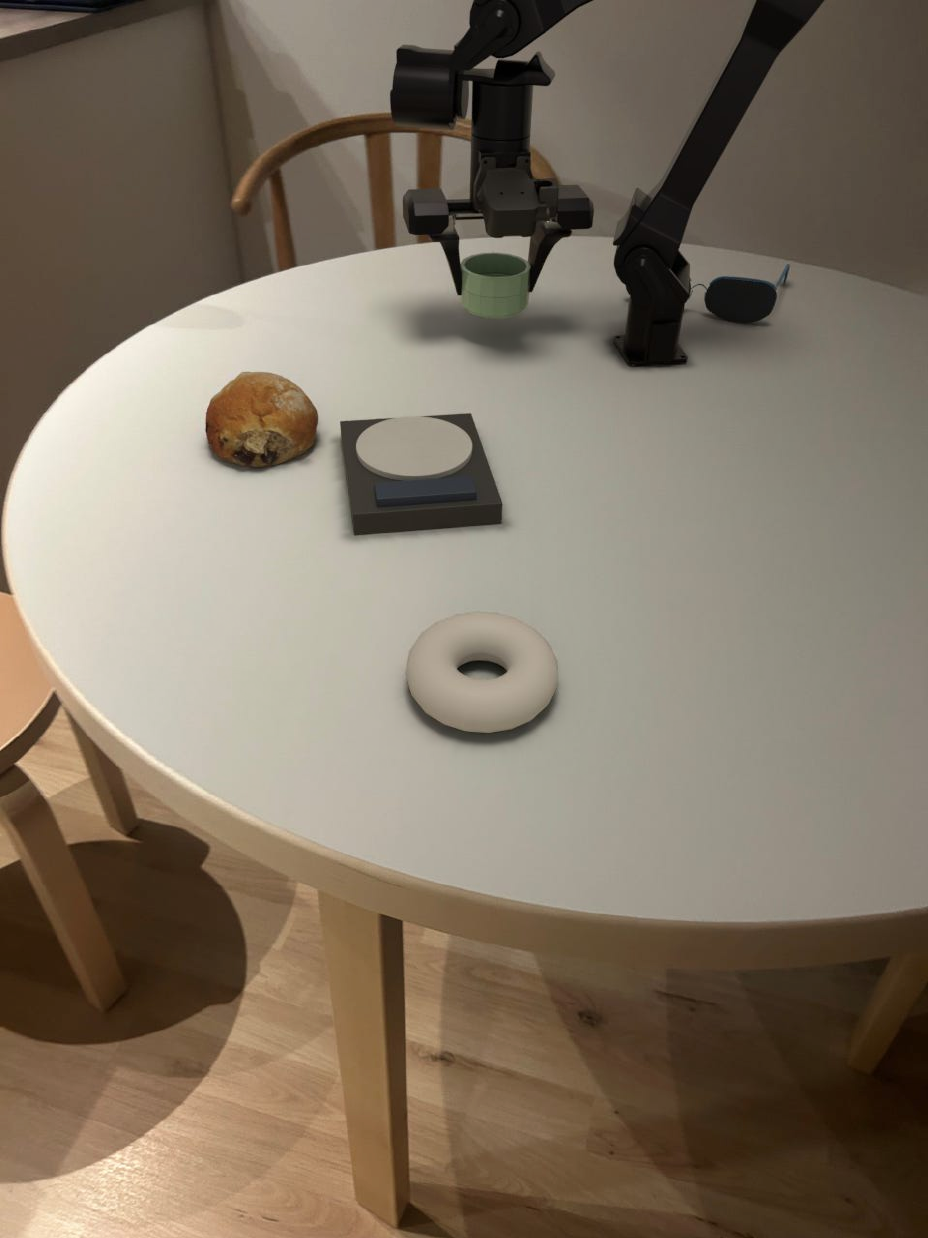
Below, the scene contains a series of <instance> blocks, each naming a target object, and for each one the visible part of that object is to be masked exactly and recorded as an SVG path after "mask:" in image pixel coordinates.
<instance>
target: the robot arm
mask: <svg viewBox="0 0 928 1238" xmlns="http://www.w3.org/2000/svg"><path fill="white" fill-rule="evenodd" d="M825 1H826V0H749V2H748V7H747V9H746V12H745V16H744V19H743V22H742V25H741V27H740V30H739V33H738V34H737V36H736V38H735V40H734V42H733V44H732V46H731V48H730V50H729V52H728V53H727V55H726V57H725V59H724V61H723V63H722V64H721V66H720V68H719V70H718V72H717V74H716V76H715V78H714V80H713V81H712V83H711V86H710V87H709V89H708V91H707V93H706V94H705V97H704V98H703V100H702V103H701V104H700V106H699V107H698V110H697V112H696V113H695V115H694V117H693V119H692V121H691V123H690V124H689V127H688V128H687V130H686V132H685V135H684V136H683V138H682V140H681V141H680V144H679V145H678V147H677V150H676V151H675V153H674V155H673V157H672V158H671V160H670V163H669V164H668V166H667V168H666V170H665V172H664V174H663V176H662V177H661V179H660V180H659V181H658V183H656V185H655V186H653V188H652V189H651V190H650V191H649V192H648V194H647V193H645V192H644V191H643V190H642V189H640V188H639V187H635V189H634V192H633V194H632V198H631V202H630V204H629V207H628V209H627V210H626V212H625V214H624V215H623V216H622V217H621V218H620V219H619V220H618V221H617V222H616V227H615V231H614V236H613V240H612V245H613V247H615V253H614V258H613V268H614V271H615V275H616V277H617V278H618V279H619V281H620V282H621V283H622V284H623V285H625V287H626V286H627V287H629V292H630V295H629V299H628V306H627V307H628V308H627V315H626V321H625V322H626V323H625V328H624V329H625V330H624V334H619V335H618V334H617V335H614V336H613V338H612V342H613V343H614V344H615V346H616V348H617V349H618V351H619V352H620V354H621V356H622V357H623V358H624V360H625V361H626V363H627V364H628V365H630V366H643V365H646V366H647V365H664V364H681V363H687V362H688V360H689V359H688V358H689V357H688V355H687V354H686V352H685V351H684V350H683V349H682V347H681V346H680V345H679V339H680V335H681V328H682V323H683V317H684V311H685V306H686V303H687V302H688V300H687V299H688V297H689V280H690V278H691V264H690V262H689V261H688V260H687V259H686V257H685V255H684V254H683V253H682V251H680V247H681V244H682V241H683V239H684V235H685V232H686V229H687V226H688V223H689V221H690V216H691V214H692V211H693V208H694V205H695V203H696V202H697V200H698V198H699V196H700V194H701V192H702V191H703V189H704V187H705V185H707V182H708V180H709V178H710V177H711V175H712V173H713V171H714V170H715V168H716V166H717V164H718V163H719V161H720V159H721V157H722V155H723V154H724V152H725V150H726V148H727V146H728V144H729V143H730V141H731V139H732V138H733V136H734V134H735V132H736V130H737V129H738V127H739V125H740V123H741V122H742V120H743V119H744V116H746V115H745V114H746V113H747V111H748V109H749V107H750V106H751V104H752V102H753V101H754V99H755V97H756V95H757V93H758V91H759V90H760V88H761V86H762V84H763V82H764V81H765V79H766V77H767V76H768V74H769V72H770V71H771V69H772V67H773V65H774V63H775V61H776V60H777V58H778V57H779V56H780V54H781V53H782V52H783V51H784V49H785V48H786V47H787V46H788V45H789V44H790V43H791V41H792V40H793V39H795V38H796V36H797V35H798V34H799V33H800V31H802V29H803V28H804V27H805V26H806V25H807V24H808V23H809V22H810V20H811V19H812V17H813V16H814V15H815V14H816V13H817V11H818V10H819V8H820V7H821V6H822V4H823V3H824V2H825ZM592 2H594V0H473V1H472V4H471V7H470V9H469V19H468V21H469V23H468V24H469V25H468V26H469V28H468V30H467V31H466V32H465V34H464V35H463V37H461V38H460V39H459V40H458V41H457V42H456V43H455V44H454V45H453V49H442V48H427V47H426V48H425V47H421V46H418V45H414V44H402V45H400V46H399V47H398V48H397V49H396V50H395V53H396V58H395V59H396V62H395V66H394V70H393V76H392V86H391V87H392V88H391V89H390V91H389V104H390V106H389V107H390V115H391V120H392V123H393V125H394V126H395V127H402V128H403V127H406V128H417V129H429V130H430V129H432V130H444V131H445V130H446V131H453V130H454V129H455V127H456V124H457V121H458V120H465V119H466V117H467V113H468V110H469V109H468V108H469V100H470V82H471V83H472V85H471V117H470V118H471V120H470V121H471V124H470V125H471V127H470V162H469V163H470V164H469V165H470V166H469V167H470V168H469V198H459V199H458V198H455V199H447V198H446V196H445V193H444V192H443V189H442V188H412V189H409V188H408V189H407V191H406V192H405V193H404V194H403V195H402V218H403V220H404V221H403V222H404V223H405V227H406V230H407V232H408V234H409V235H412V236H427V237H428V240H429V241H430V242H433V243H440V245H441V248H442V250H443V253H444V255H445V258H446V263H447V266H448V269H449V271H450V276H451V279H452V282H453V286H454V288H455V291H456V294H457V296H458V297H460V295H461V294H462V276H461V265H460V264H461V256H460V235H459V233H458V231H457V229H456V227H455V225H456V221H469V220H470V221H471V220H483V223H484V229H485V233H486V234H487V236H489V237H490V238H494V239H502V238H504V237H517V236H518V237H522V238H529V246H528V255H527V261H528V262H529V264H530V266H531V272H530V287H529V293H533V291H534V290H535V287H536V285H537V282H538V279H539V277H540V275H541V272H542V271H543V268H544V265H545V264H546V262H547V259H548V257H549V255H550V253H551V252H552V250H553V248H554V246H555V245H556V244H557V243H558V242H560V241H561V240H562V239H564V238H569V237H571V236H572V233H573V231H572V230H574V231H575V230H589V229H591V228H593V225H594V213H595V205H594V202H593V201H592V200H591V199H590V197H589V196H588V195H587V194H586V193H585V191H584V190H583V189H582V187H581V186H580V185H579V184H559V183H558V180H557V178H555V177H551V178H550V177H549V178H548V177H547V178H534V175H533V172H532V168H531V167H532V159H531V156H532V155H531V154H532V153H531V151H530V147H531V146H530V145H531V132H532V131H531V129H532V116H533V115H532V113H533V97H534V86H536V87H550V85H551V84H552V81H554V79H555V77H556V72H555V70H554V69H553V68H552V67H551V66H550V65H549V64H548V63H547V62H546V60H545V59H544V57H543V54H542V51H536V52H535V53H534V55H532V57H531V58H530V59H529V60H518V59H507V58H510V57H513V56H516V54H518V53H520V52H521V51H522V50H524V49H525V48H527V47H528V46H529V45H531V44H532V43H533V42H535V41H536V40H537V39H539V38H541V36H544V35H545V34H546V33H547V32H548V31H550V30H551V29H552V28H554V27H555V26H556V25H557V24H559V23H560V22H561V21H562V20H564V19H565V18H567V17H568V16H569V15H570V14H572V13H573V12H575V11H576V10H577V9H579V8H581V7H583V6H585V5H587V4H589V3H592ZM489 57H493V58H495V59H497V60H496V63H495V67H494V68H478V67H477V66H478V65H480V64H481V63H482V62H484V61H485V60H487V59H489ZM686 301H687V302H686ZM685 302H686V303H685Z"/></svg>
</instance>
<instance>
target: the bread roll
mask: <svg viewBox="0 0 928 1238" xmlns="http://www.w3.org/2000/svg"><path fill="white" fill-rule="evenodd" d="M204 420H205V424H204V425H205V427H204V428H205V429H204V430H205V435H206V440H207V443H208V446H209V447H210V449H211V451H212V452H213V453H214V454H215V455H216V456H217V457H219V458H220V459H221V460H222V461H225V462H228V463H231V464H235V465H239V466H241V467H252V468H262V467H271V466H274V465H275V466H276V465H279V464H283V463H286V462H289V461H291V460H293V459H295V458H297V457H301V456H302V455H304V454H306V453H307V452H308V449H309V448H311V447H313V445H314V443H315V442H316V437H317V430H318V425H319V413H318V410H317V408H316V406H315V404H314V403H313V401H312V400H311V398H310V397H309V396H308V395H307V394H306V393H305V391H304V390H303V389H302V388H301V387H300V386H299V385H297V384H296V383H295V382H293V381H291V380H290V379H288V378H287V377H285V376H283V375H279V374H278V373H273V372H268V371H241V372H240V373H239V374H238V375H237V376H236V377H235V378H234V379H232V380H230V381H229V382H228V383H227V384H226V385H224V386H223V388H222V389H220V390H219V392H217V393H215V394H213V396H212V397H211V398H210V400H209V404H208V406H207V408H206V412H205V419H204Z"/></svg>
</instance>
